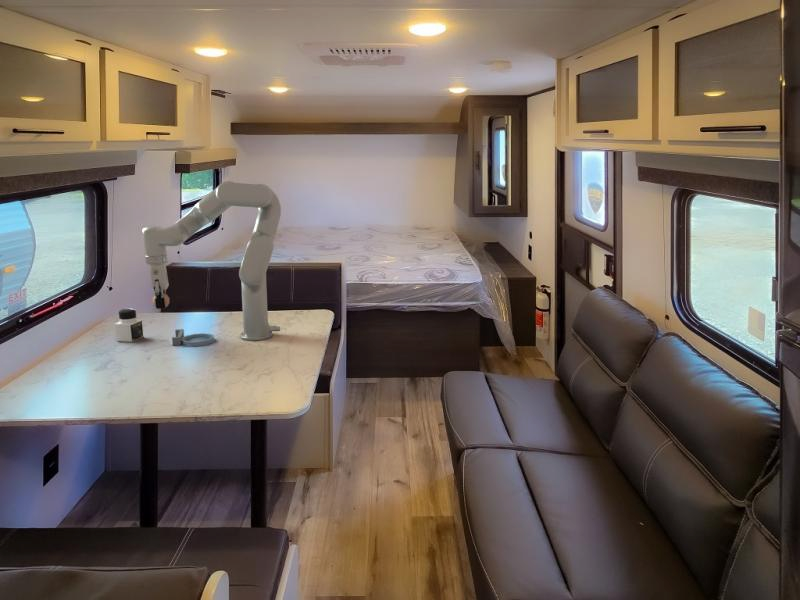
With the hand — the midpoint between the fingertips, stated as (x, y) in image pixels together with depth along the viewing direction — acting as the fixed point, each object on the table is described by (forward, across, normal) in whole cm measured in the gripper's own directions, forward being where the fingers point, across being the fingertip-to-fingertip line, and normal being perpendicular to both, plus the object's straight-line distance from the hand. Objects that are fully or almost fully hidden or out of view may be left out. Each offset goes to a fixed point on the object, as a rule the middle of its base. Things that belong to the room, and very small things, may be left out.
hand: (161, 305), depth 224 cm
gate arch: (+14, -1, -6) cm, 15 cm away
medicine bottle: (+14, +6, +14) cm, 21 cm away
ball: (+1, 0, 0) cm, 1 cm away
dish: (+14, -4, -12) cm, 19 cm away
